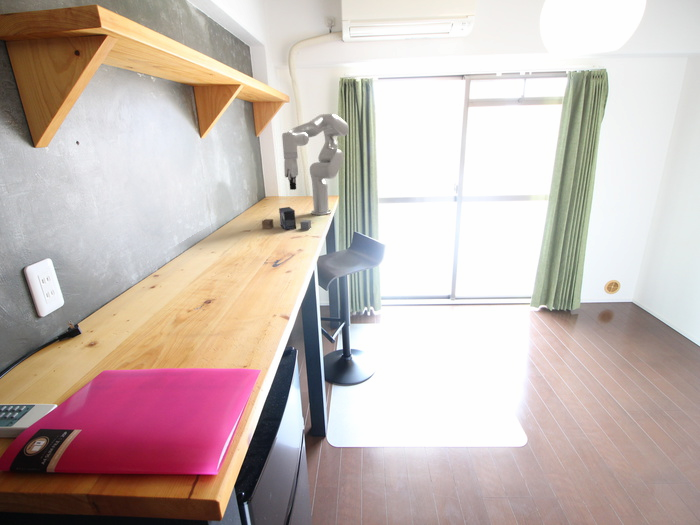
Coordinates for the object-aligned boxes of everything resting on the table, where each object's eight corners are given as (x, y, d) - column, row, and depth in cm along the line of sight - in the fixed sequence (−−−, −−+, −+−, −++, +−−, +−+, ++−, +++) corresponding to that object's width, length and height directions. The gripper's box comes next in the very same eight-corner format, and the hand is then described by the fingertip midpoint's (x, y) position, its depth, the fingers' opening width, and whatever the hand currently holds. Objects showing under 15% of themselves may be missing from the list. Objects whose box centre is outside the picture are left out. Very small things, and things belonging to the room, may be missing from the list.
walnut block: (266, 227, 208) (265, 219, 206) (273, 227, 207) (272, 219, 205) (262, 229, 204) (261, 221, 202) (270, 229, 203) (269, 221, 201)
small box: (279, 226, 208) (278, 207, 205) (291, 224, 211) (289, 206, 207) (285, 230, 199) (283, 211, 195) (296, 228, 202) (295, 210, 198)
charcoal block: (303, 227, 203) (302, 220, 202) (311, 228, 203) (310, 220, 201) (300, 230, 199) (300, 222, 198) (308, 230, 198) (308, 222, 197)
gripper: (288, 155, 212) (291, 187, 218) (279, 157, 198) (282, 191, 204) (301, 155, 210) (303, 187, 216) (292, 157, 196) (295, 191, 203)
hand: (293, 189), depth 210 cm, fingers closed
